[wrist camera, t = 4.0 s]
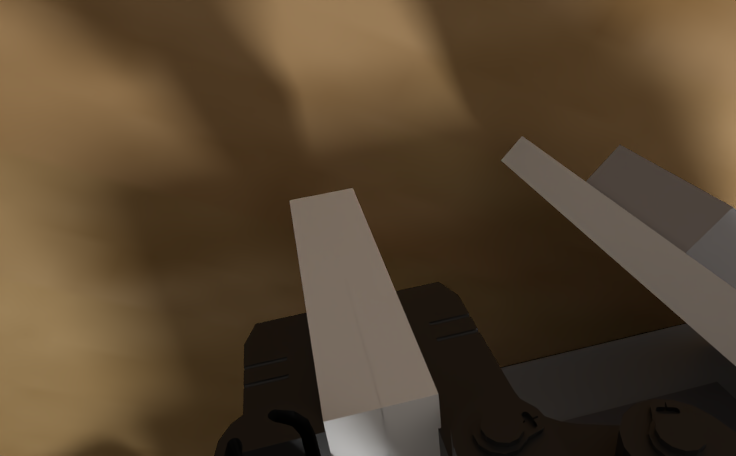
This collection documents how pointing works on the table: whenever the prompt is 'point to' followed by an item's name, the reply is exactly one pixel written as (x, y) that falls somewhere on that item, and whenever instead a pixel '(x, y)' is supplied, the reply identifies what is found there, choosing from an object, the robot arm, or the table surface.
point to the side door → (650, 231)
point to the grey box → (629, 378)
